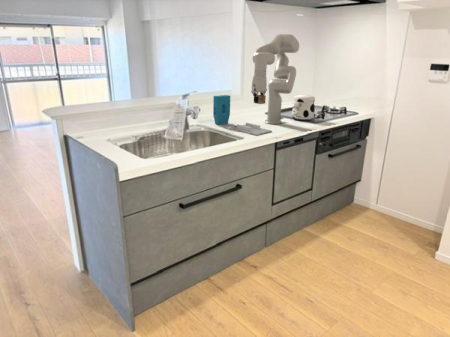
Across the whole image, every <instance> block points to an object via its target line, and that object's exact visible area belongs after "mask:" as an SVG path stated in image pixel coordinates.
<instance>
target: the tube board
mask: <svg viewBox="0 0 450 337" xmlns="http://www.w3.org/2000/svg"><path fill="white" fill-rule="evenodd" d="M229 130H233V131H236V132H240V133H245V134H249V135H253V136H256V137H257V136H261V135H265V134H268V133H269V134H270V133H272V132H273V130H270V129H266V128H261V124H260V125H259V124H256V123H250V122H245V124H239V123H238V124H236V125H234V126H232V127H231V126H230V127H229Z"/></svg>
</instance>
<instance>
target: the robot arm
mask: <svg viewBox="0 0 450 337" xmlns="http://www.w3.org/2000/svg"><path fill="white" fill-rule="evenodd" d="M299 50H300V43H299V40H298V38H296V36H294V35H293V34H289V33H288V34H287V33H285V34H283V33H280V34H276V35H274V37H273V38H272V39H271V41H270V42H269V43H266V44H264V45H262V46H260V47H258V48H256V50H255V52H254V53H253V55H252V62H253V63H254V72H253V77H252V82H251V90H250V92H251V94H252V95H253V104H257V103H258V95H265V96H266V92H267V91H268V105H267V107H268V108H267V119H265V120H264V121H265V124H269V125H281V124H282V123H283V121H282V120H283V119H284V116H282V114H281V112H282V102H283V100H282V99H283V98H282V96H281V94H287V95H288V94H291V93H292V91H293V88H294V86H295V84H294V83H295V81H296V77H297V68H296V67H295V66H294V65H293V66H292V65H289V63H290V61H289V60H290V59H289V57H288V56H287V54H288V53H289V54H296V53H298V52H299ZM275 55H276V56H275ZM276 57H277V58H276ZM275 61H276V63H275ZM274 63H275V67H274V71H273V77H274V78H275V79H270V80H269V82H268V80H267V68H268V66H270V65H273V64H274ZM267 82H268V83H267ZM267 84H268V85H267ZM267 87H268V88H267Z"/></svg>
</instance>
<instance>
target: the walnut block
mask: <svg viewBox="0 0 450 337" xmlns="http://www.w3.org/2000/svg"><path fill="white" fill-rule="evenodd" d="M266 98H267V97H266V94H265V95H260V94H258V103H256V104H258V105H263V104H266Z"/></svg>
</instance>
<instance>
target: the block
mask: <svg viewBox="0 0 450 337" xmlns="http://www.w3.org/2000/svg"><path fill="white" fill-rule="evenodd" d="M212 103H213V106H212V107H213V108H212V109H213V112H212V113H213V119H214V124H215V125H218V126H221V125H222V126H223V125H228V124H229V120H230V116H231V95H229V94H223V95H221V94H220V95H213V102H212Z"/></svg>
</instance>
